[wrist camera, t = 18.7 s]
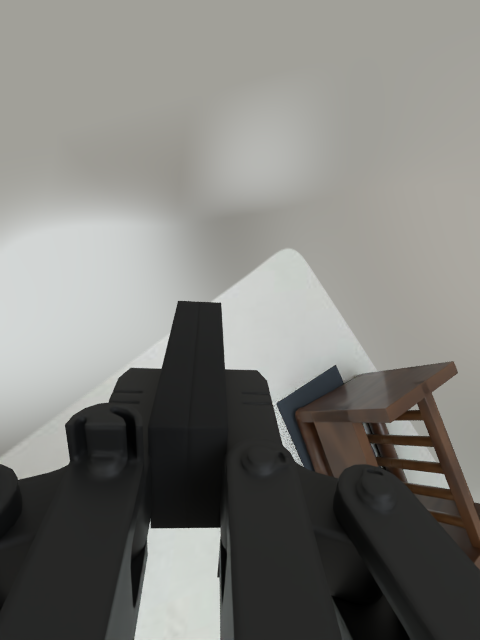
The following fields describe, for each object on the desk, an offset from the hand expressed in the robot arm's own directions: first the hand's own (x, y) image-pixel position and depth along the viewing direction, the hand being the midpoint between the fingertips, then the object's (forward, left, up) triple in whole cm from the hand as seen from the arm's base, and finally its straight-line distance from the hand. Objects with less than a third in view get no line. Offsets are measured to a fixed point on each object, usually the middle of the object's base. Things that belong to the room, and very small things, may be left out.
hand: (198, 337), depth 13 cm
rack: (+15, +25, -20) cm, 35 cm away
